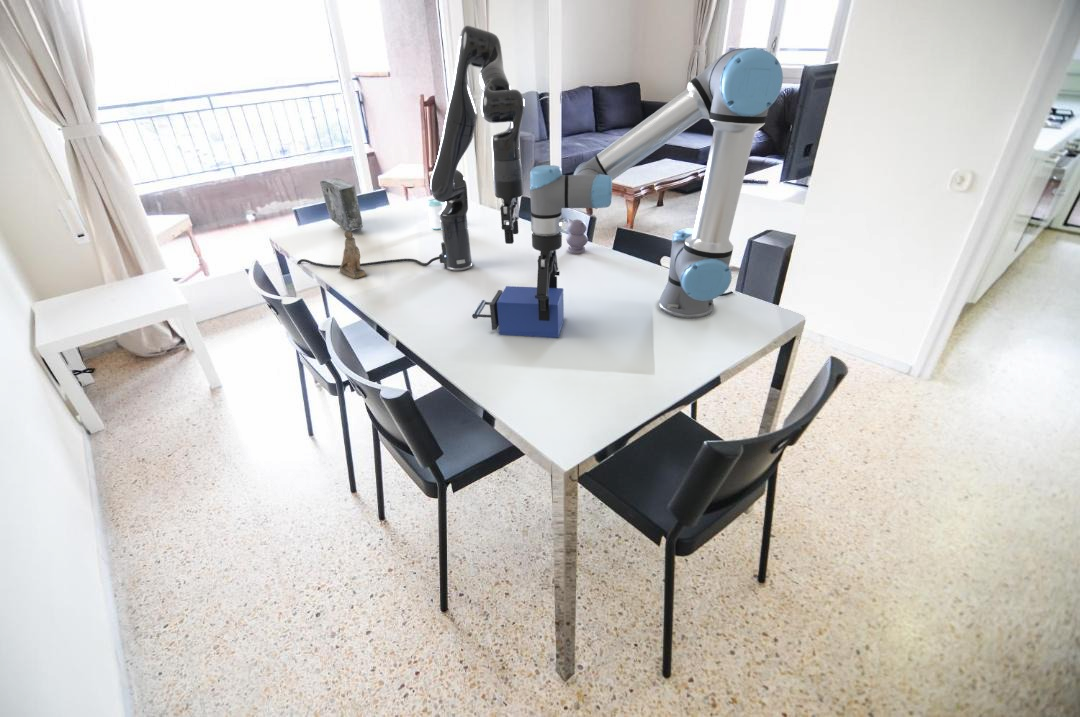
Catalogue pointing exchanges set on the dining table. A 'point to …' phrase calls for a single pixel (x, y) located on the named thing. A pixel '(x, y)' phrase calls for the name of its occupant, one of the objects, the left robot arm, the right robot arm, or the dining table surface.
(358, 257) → the worn brown figurine
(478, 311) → the drawer
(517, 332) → the cabinet
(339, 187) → the concrete block
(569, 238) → the cat figurine
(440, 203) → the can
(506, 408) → the dining table surface
